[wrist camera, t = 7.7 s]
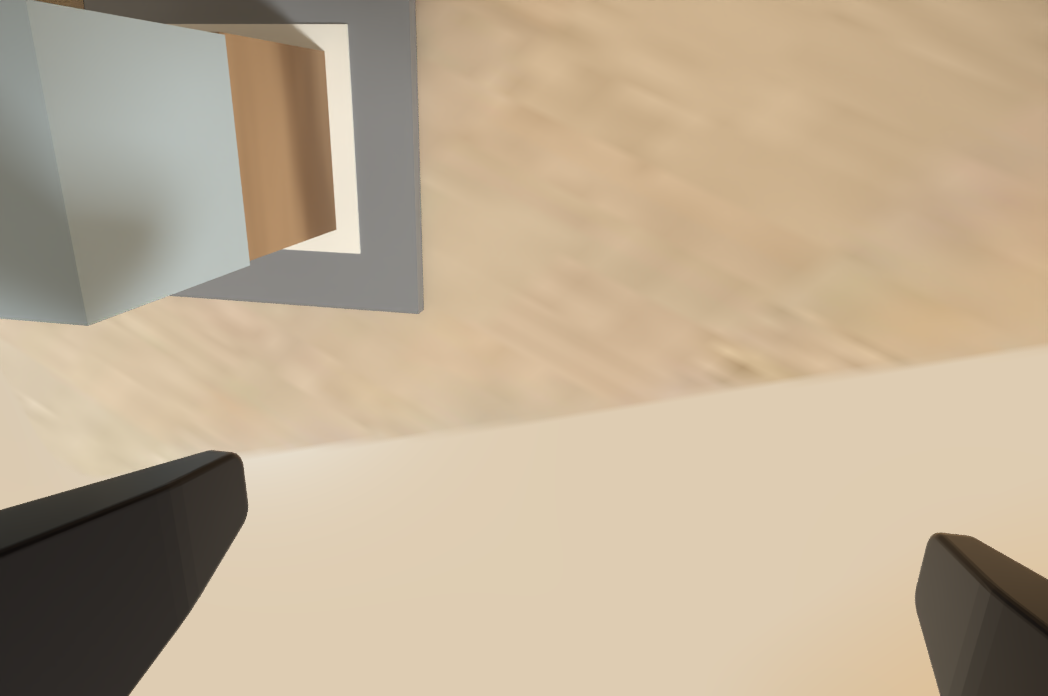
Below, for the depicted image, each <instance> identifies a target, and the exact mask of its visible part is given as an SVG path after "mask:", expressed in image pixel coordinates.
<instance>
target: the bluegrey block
mask: <svg viewBox="0 0 1048 696" xmlns="http://www.w3.org/2000/svg"><path fill="white" fill-rule="evenodd" d="M247 266H250V260H249V250H248V241H247V232H246V223H245V214H244V205H243V196H242V186H241V177H240V168H239V159H238V150H237V141H236V132H235V122H234V113H233V104H232V95H231V86H230V77H229V67H228V58H227V49H226V40H225V35H223V34H217V33H212V32H206V31H201V30H195V29H190V28H184V27H178V26H173V25H167V24H162V23H156V22H151V21H145V20H140V19H134V18H129V17H123V16H117V15H112V14H106V13H101V12H95V11H90V10H84V9H79V8H73V7H67V6H62V5H56V4H51V3H45V2H40V1H34V0H0V318H1V319H13V320H25V321H37V322H49V323H61V324H73V325H85V326H89V325H92V324H94V323H97V322H100V321H102V320H105V319H108V318H110V317H113V316H116V315H118V314H121V313H124V312H126V311H129V310H132V309H134V308H137V307H140V306H143V305H145V304H148V303H151V302H153V301H156V300H159V299H161V298H164V297H167V296H169V295H172V294H175V293H177V292H180V291H183V290H185V289H188V288H191V287H194V286H196V285H199V284H202V283H204V282H207V281H210V280H212V279H215V278H218V277H220V276H223V275H226V274H228V273H231V272H234V271H236V270H239V269H242V268H245V267H247Z"/></svg>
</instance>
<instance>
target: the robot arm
mask: <svg viewBox="0 0 1048 696" xmlns="http://www.w3.org/2000/svg"><path fill="white" fill-rule="evenodd" d="M247 512H248V499H247V491H246V483H245V476H244V467H243V462H242V460H241V458H240V457H239V456H238V455H237V454H236V453H232V452H224V451H215V450H210V451H205V452H202V453H198V454H195V455H191V456H188V457H184V458H181V459H177V460H174V461H170V462H167V463H163V464H160V465H156V466H153V467H149V468H146V469H142V470H139V471H135V472H132V473H128V474H125V475H121V476H118V477H114V478H111V479H107V480H104V481H100V482H97V483H93V484H90V485H86V486H83V487H79V488H76V489H72V490H69V491H65V492H62V493H58V494H55V495H51V496H48V497H45V498H41V499H37V500H34V501H30V502H27V503H23V504H20V505H16V506H13V507H9V508H6V509H2V510H0V696H129V694H130V693H131V692H132V690H133V689H134V688H135V686H136V685H137V684H138V682H139V681H140V680H141V678H142V677H143V676H144V674H145V673H146V672H147V670H148V669H149V667H150V666H151V665H152V664H153V662H154V661H155V659H156V658H157V657H158V655H159V654H160V653H161V651H162V650H163V649H164V647H165V646H166V645H167V643H168V642H169V641H170V639H171V638H172V637H173V635H174V634H175V632H176V631H177V630H178V628H179V627H180V626H181V624H182V623H183V621H184V620H185V619H186V617H187V615H188V614H189V613H190V611H191V610H192V608H193V607H194V605H195V603H196V602H197V600H198V599H199V597H200V596H201V594H202V592H203V591H204V589H205V587H206V586H207V584H208V582H209V581H210V579H211V577H212V576H213V574H214V572H215V571H216V569H217V567H218V566H219V564H220V562H221V560H222V559H223V557H224V556H225V554H226V552H227V551H228V549H229V547H230V545H231V544H232V542H233V541H234V539H235V537H236V536H237V534H238V532H239V531H240V529H241V527H242V525H243V524H244V522H245V519H246V516H247ZM915 604H916V610H917V615H918V618H919V621H920V625H921V629H922V632H923V636H924V639H925V643H926V647H927V650H928V654H929V657H930V660H931V664H932V668H933V671H934V675H935V678H936V682H937V686H938V689H939V693H940V696H1048V579H1046V578H1044V577H1043V576H1041V575H1039V574H1037V573H1035V572H1034V571H1032V570H1030V569H1028V568H1027V567H1025V566H1023V565H1021V564H1020V563H1018V562H1016V561H1014V560H1013V559H1011V558H1009V557H1007V556H1006V555H1004V554H1002V553H1000V552H998V551H997V550H995V549H993V548H992V547H990V546H988V545H986V544H984V543H983V542H981V541H979V540H977V539H976V538H974V537H971V536H966V535H958V534H949V533H935V534H933V535H932V536H931V537H930V539H929V541H928V543H927V546H926V550H925V554H924V558H923V562H922V566H921V570H920V574H919V578H918V582H917V587H916V593H915Z"/></svg>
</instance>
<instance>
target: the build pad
mask: <svg viewBox="0 0 1048 696" xmlns="http://www.w3.org/2000/svg"><path fill="white" fill-rule="evenodd" d="M83 2H84V8H85V10H90V11H95V12H101V13H106V14H112V15H117V16H123V17H129V18H134V19H140V20H145V21H151V22H156V23H162V24H167V25H173V26H178V27H184V28H190V29H195V30H201V31H206V32H223V33H228V34H234V35H239V36H245V37H250V38H255V39H261V40H266V41H272V42H277V43H282V44H288V45H293V46H299V47H304V48H310V49H315V50H320V51H325V65H326V80H327V95H328V110H329V125H330V140H331V154H332V169H333V184H334V199H335V214H336V229H337V230H334V231H331V232H328V233H326V234H323V235H320V236H317V237H315V238H312V239H309V240H306V241H304V242H301V243H298V244H295V245H292V246H290V247H287V248H284V249H281V250H279V251H276V252H273V253H270V254H268V255H265V256H262V257H259V258H256V259H254V260H251V261H250V266H247V267H245V268H242V269H239V270H236V271H234V272H231V273H228V274H226V275H223V276H220V277H218V278H215V279H212V280H210V281H207V282H204V283H202V284H199V285H196V286H194V287H191V288H188V289H185V290H183V291H180V292H177V293H175V294H172V295H169V296H180V297H194V298H208V299H221V300H235V301H249V302H262V303H276V304H290V305H303V306H317V307H331V308H344V309H358V310H372V311H385V312H399V313H413V314H419V313H420V312H421V311H423V310H424V304H423V267H422V231H421V194H420V158H419V121H418V85H417V49H416V12H415V0H83Z"/></svg>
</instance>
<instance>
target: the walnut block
mask: <svg viewBox="0 0 1048 696" xmlns="http://www.w3.org/2000/svg"><path fill="white" fill-rule="evenodd" d="M212 33H217V34H223V35H225V40H226V49H227V58H228V67H229V77H230V86H231V95H232V104H233V113H234V122H235V132H236V141H237V150H238V159H239V168H240V177H241V186H242V196H243V205H244V214H245V223H246V232H247V241H248V250H249V260H250V261H251V260H254V259H256V258H259V257H262V256H265V255H268V254H270V253H273V252H276V251H279V250H281V249H284V248H287V247H290V246H292V245H295V244H298V243H301V242H304V241H306V240H309V239H312V238H315V237H317V236H320V235H323V234H326V233H328V232H331V231H334V230H337V229H336V214H335V199H334V184H333V169H332V154H331V140H330V125H329V110H328V95H327V80H326V65H325V51H320V50H315V49H310V48H304V47H299V46H293V45H288V44H282V43H277V42H272V41H266V40H261V39H255V38H250V37H245V36H239V35H234V34H228V33H223V32H212Z"/></svg>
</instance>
